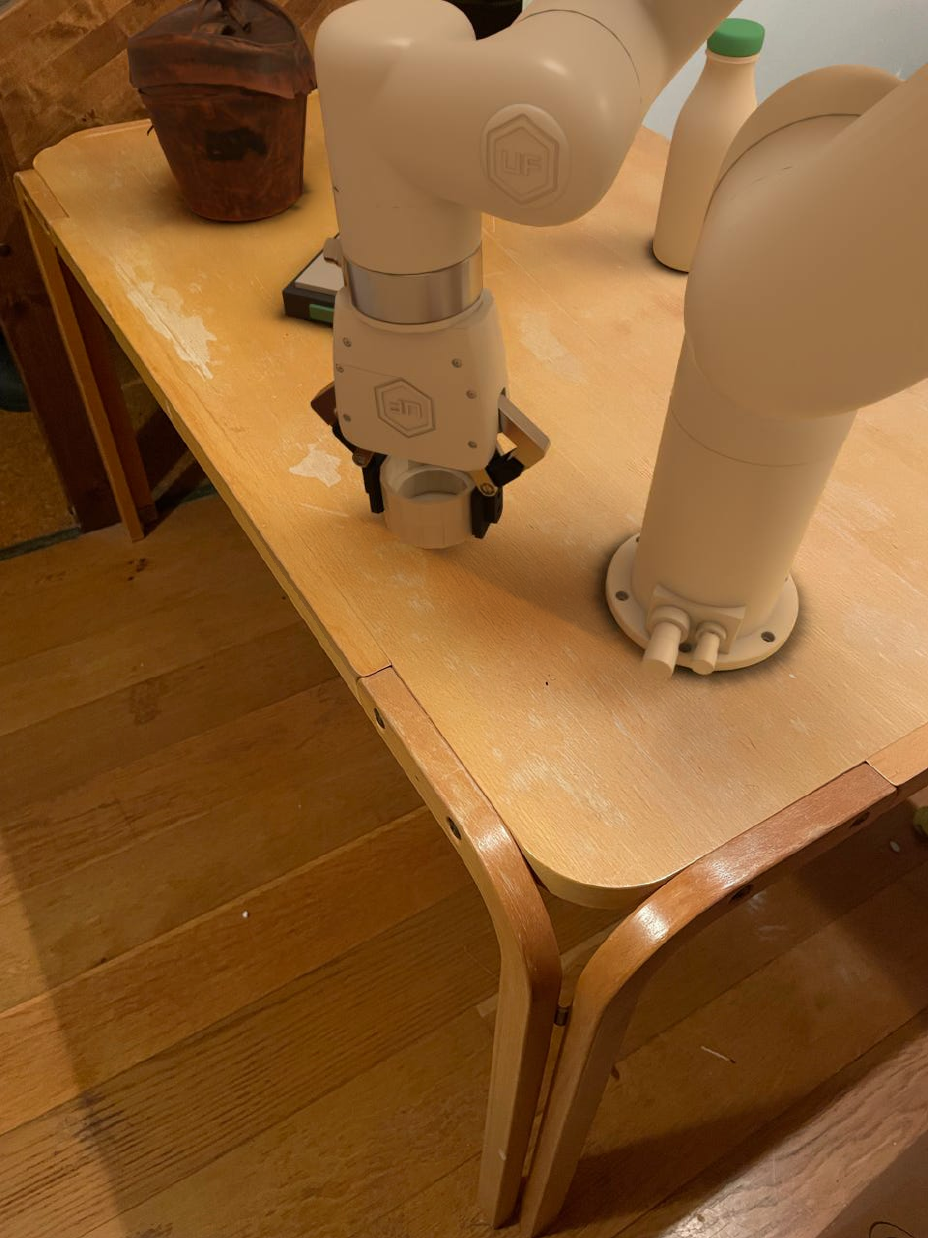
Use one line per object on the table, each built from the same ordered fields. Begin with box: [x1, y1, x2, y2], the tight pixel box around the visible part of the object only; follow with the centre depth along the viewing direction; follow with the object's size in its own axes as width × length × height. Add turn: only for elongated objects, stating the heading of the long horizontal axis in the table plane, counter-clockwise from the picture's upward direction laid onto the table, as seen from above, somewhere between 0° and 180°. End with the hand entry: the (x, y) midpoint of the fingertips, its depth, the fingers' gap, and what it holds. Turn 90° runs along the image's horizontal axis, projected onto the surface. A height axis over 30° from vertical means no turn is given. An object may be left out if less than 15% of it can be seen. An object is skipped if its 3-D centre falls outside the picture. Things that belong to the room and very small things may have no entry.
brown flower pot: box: [125, 0, 317, 222], centre depth 90 cm, size 18×20×18 cm
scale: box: [281, 231, 344, 326], centre depth 84 cm, size 14×11×3 cm
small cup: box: [380, 455, 476, 550], centre depth 61 cm, size 7×7×4 cm
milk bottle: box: [652, 17, 766, 273], centre depth 82 cm, size 8×8×20 cm
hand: (434, 511), depth 62 cm, fingers closed on small cup, 6 cm apart
